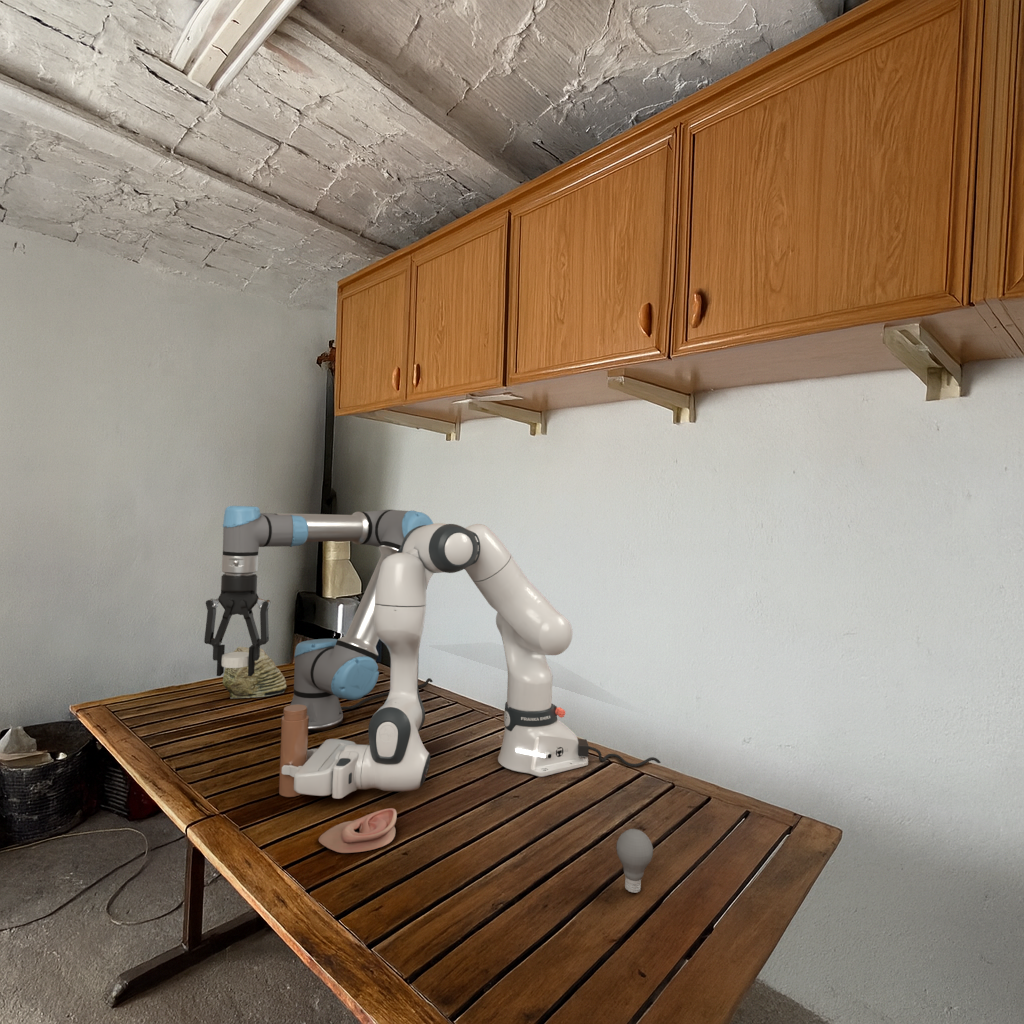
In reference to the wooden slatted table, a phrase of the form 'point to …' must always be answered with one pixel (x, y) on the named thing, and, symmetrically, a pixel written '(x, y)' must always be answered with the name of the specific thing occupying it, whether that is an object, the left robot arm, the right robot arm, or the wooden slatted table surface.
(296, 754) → the jar
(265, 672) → the fossil
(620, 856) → the light bulb
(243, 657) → the lid
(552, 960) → the wooden slatted table surface
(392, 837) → the anatomical model
